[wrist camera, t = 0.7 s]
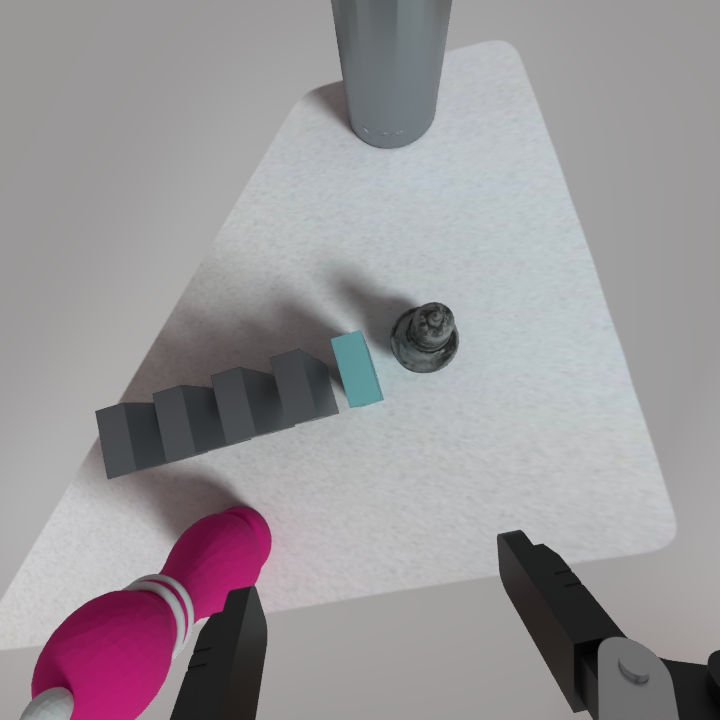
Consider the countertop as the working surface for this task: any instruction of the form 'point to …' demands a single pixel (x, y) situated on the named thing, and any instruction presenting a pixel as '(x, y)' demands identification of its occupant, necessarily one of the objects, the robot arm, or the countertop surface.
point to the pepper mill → (145, 623)
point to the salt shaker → (425, 338)
